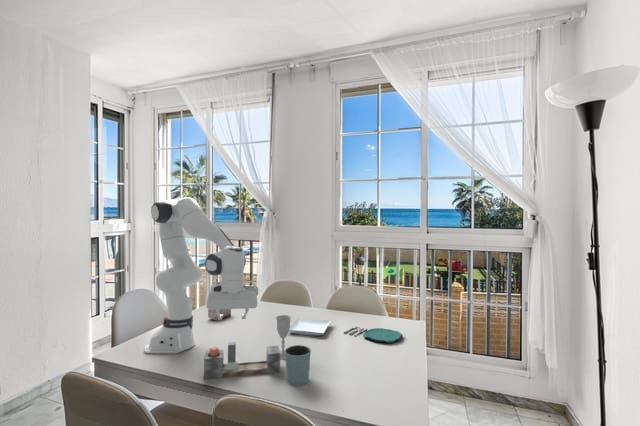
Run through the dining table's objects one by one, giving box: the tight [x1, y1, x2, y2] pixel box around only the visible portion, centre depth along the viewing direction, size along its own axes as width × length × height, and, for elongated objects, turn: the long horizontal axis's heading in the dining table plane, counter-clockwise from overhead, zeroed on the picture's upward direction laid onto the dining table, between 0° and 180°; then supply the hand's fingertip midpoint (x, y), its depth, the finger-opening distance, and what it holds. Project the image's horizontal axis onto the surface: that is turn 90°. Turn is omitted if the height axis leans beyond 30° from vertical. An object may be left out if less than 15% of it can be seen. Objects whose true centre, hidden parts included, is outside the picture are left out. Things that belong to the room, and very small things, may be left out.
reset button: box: [208, 346, 220, 357], centre depth 140 cm, size 4×4×4 cm
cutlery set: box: [343, 326, 403, 344], centre depth 187 cm, size 20×30×2 cm, turn 56°
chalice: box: [275, 314, 292, 360], centre depth 157 cm, size 7×7×18 cm
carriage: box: [224, 341, 239, 371], centre depth 142 cm, size 5×5×10 cm
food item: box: [207, 309, 232, 321], centre depth 214 cm, size 14×8×10 cm, turn 152°
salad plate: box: [288, 317, 332, 337], centre depth 194 cm, size 21×21×3 cm
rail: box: [203, 345, 281, 380], centre depth 143 cm, size 30×8×8 cm, turn 103°
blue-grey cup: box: [284, 344, 312, 386], centre depth 136 cm, size 10×10×12 cm
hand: (232, 319), depth 142 cm, fingers open, 8 cm apart
